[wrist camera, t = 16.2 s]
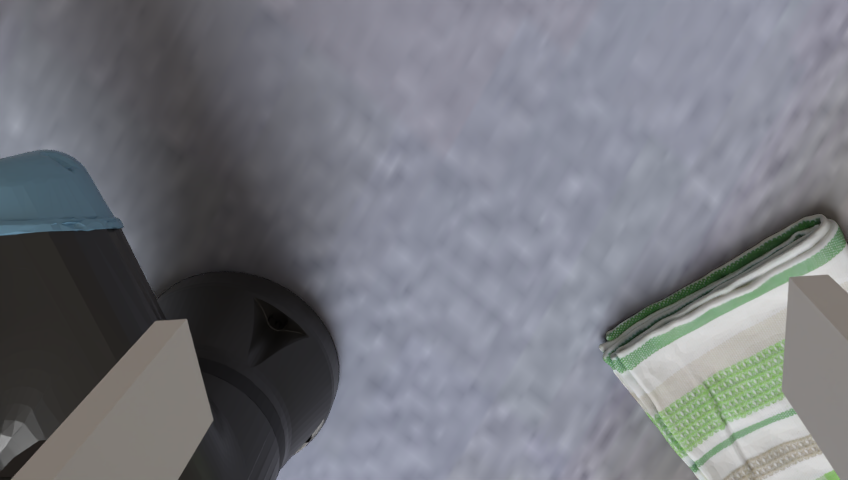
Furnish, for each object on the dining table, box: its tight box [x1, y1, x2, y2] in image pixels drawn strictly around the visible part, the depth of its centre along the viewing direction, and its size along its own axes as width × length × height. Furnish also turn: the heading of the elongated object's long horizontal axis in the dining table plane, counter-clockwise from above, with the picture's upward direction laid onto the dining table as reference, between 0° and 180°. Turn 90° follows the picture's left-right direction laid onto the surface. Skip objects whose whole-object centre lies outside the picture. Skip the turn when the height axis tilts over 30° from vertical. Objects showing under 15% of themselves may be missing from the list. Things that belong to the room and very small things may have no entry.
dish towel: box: [599, 214, 848, 480], centre depth 50 cm, size 17×23×4 cm
